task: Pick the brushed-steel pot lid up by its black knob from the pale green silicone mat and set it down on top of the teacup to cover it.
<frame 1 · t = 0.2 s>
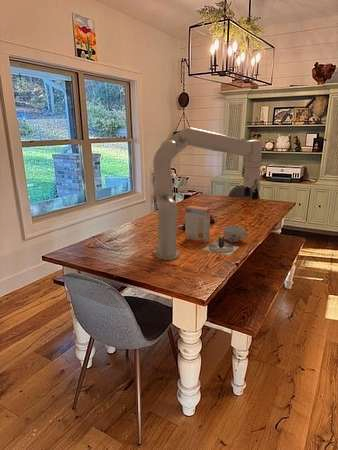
hand: (250, 197, 167), 30 cm above the table, tool pointing down, fingers open, 9 cm apart
lid: (221, 248, 179), resting on mat
teacup: (234, 241, 191), on the table
cracker box: (197, 240, 193), on the table
mat: (221, 248, 180), on the table
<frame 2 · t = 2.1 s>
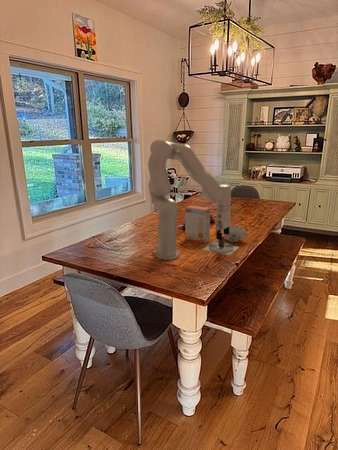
hand: (222, 236, 178), 7 cm above the table, tool pointing down, fingers open, 9 cm apart
nothing on the table moved.
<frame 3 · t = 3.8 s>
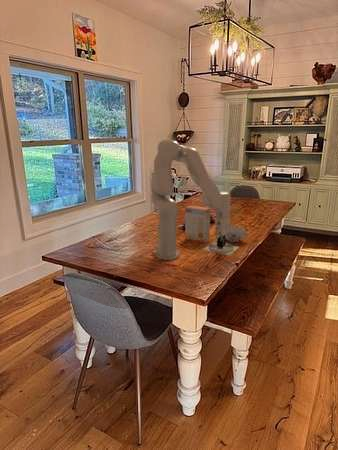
hand: (221, 245, 179), 2 cm above the table, tool pointing down, fingers closed on lid, 3 cm apart
lid: (221, 248, 179), resting on mat, touching gripper
everything else where it was.
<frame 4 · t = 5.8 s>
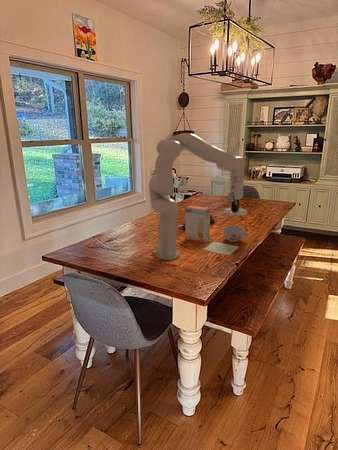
hand: (235, 210, 184), 20 cm above the table, tool pointing down, fingers closed on lid, 3 cm apart
lid: (235, 212, 184), point 18 cm above the table, touching gripper
everything else where it was.
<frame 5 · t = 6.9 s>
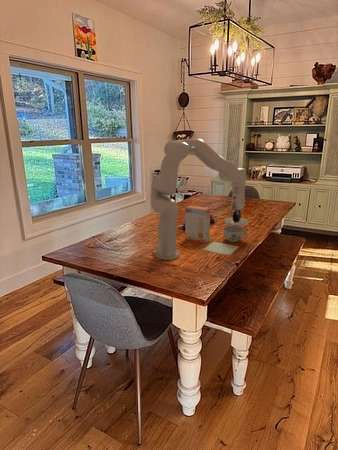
hand: (236, 219, 188), 14 cm above the table, tool pointing down, fingers closed on lid, 3 cm apart
lid: (236, 222, 188), point 12 cm above the table, touching gripper
everything else where it was.
when the fingers open (11 cm above the table, at t = 7.9 s): lid drops 2 cm, resting on teacup.
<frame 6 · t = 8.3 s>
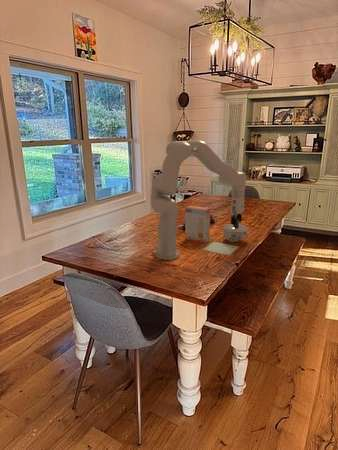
hand: (236, 222, 188), 12 cm above the table, tool pointing down, fingers open, 7 cm apart
lid: (235, 228, 189), point 8 cm above the table, touching teacup
teacup: (234, 241, 191), on the table, touching lid
everything else where it was.
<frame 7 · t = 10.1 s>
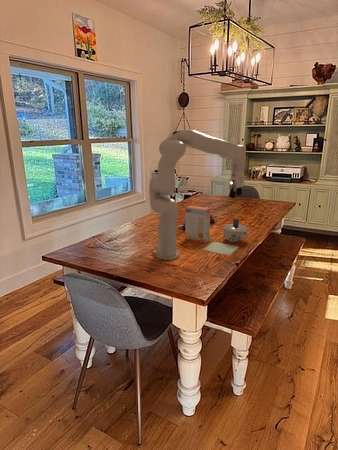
hand: (235, 196, 186), 27 cm above the table, tool pointing down, fingers open, 9 cm apart
nothing on the table moved.
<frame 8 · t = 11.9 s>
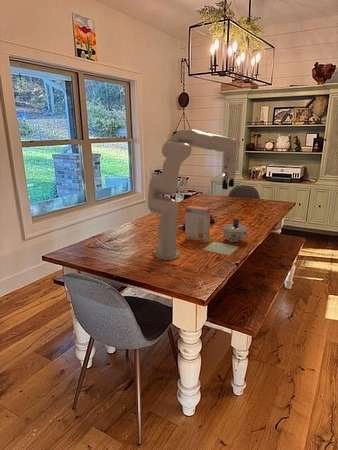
hand: (228, 187, 195), 30 cm above the table, tool pointing down, fingers open, 9 cm apart
nothing on the table moved.
at the end: lid 0.2 cm from the teacup (horizontally); lid point 7.9 cm above the table; lid tilted 0° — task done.
